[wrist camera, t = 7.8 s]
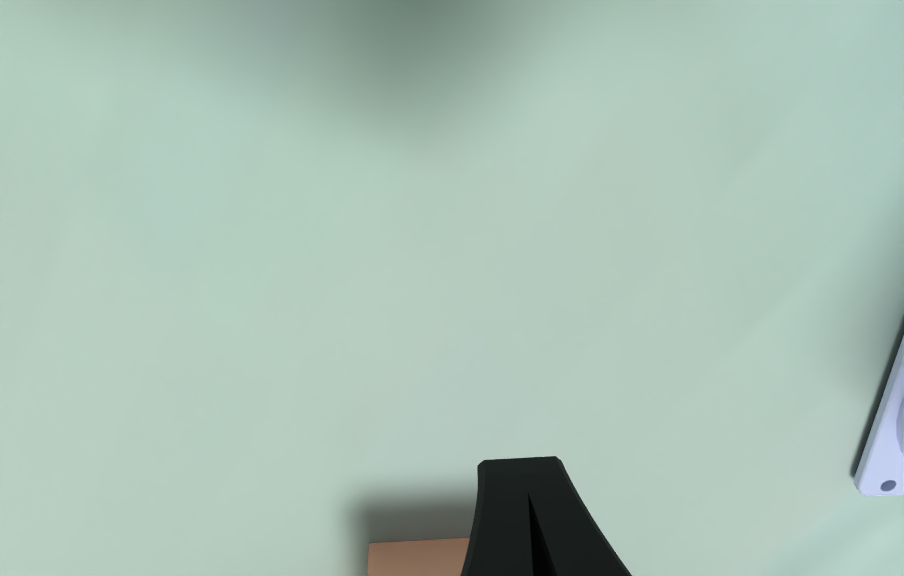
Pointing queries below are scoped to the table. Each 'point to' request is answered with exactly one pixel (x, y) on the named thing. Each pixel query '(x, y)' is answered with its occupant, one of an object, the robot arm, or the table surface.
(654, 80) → the table surface
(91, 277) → the table surface
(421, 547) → the terracotta block
